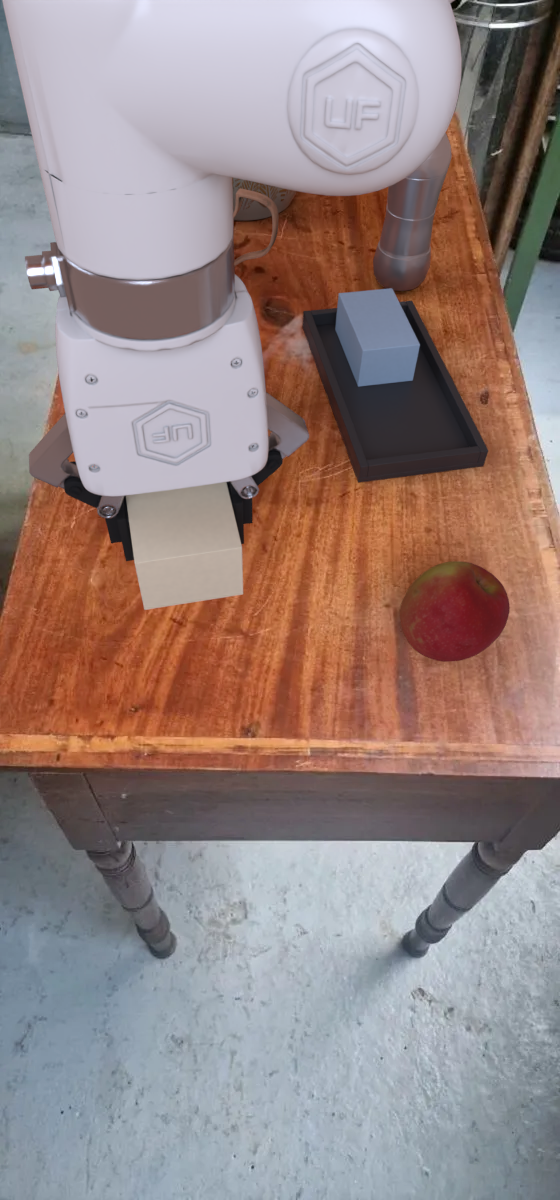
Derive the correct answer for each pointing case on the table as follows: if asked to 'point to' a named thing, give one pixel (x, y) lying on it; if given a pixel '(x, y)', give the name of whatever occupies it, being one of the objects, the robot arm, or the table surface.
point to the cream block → (185, 545)
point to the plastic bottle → (411, 223)
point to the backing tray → (395, 408)
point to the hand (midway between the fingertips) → (182, 533)
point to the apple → (454, 611)
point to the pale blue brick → (376, 337)
